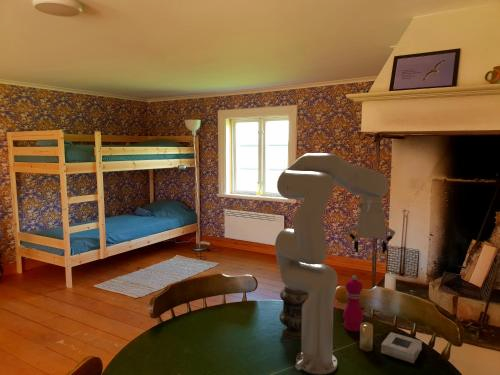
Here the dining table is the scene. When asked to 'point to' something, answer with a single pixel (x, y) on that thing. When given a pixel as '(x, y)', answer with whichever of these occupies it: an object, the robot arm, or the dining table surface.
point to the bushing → (366, 336)
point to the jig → (401, 347)
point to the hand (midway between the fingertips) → (369, 251)
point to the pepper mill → (353, 305)
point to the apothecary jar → (292, 311)
